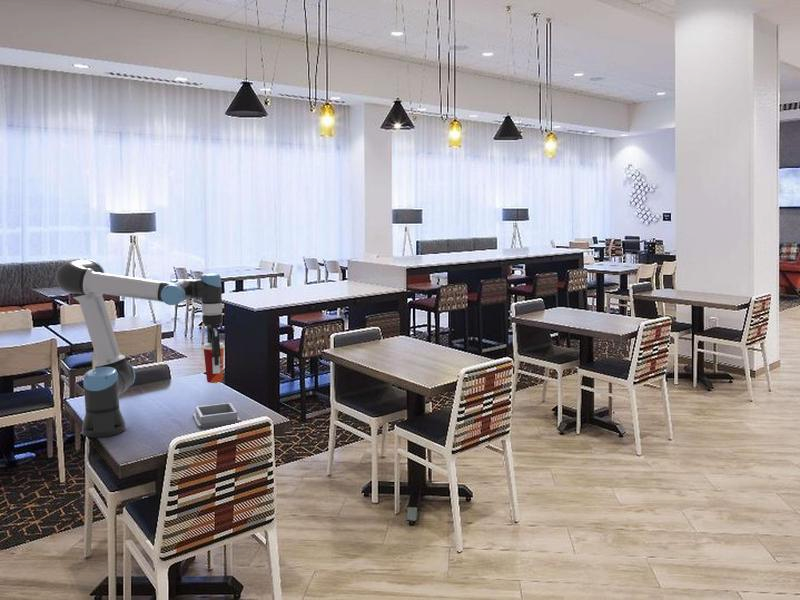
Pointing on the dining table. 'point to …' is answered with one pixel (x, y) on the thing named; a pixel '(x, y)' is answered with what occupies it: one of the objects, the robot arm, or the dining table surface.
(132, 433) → the dining table surface
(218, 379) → the coffee cup
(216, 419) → the tray
